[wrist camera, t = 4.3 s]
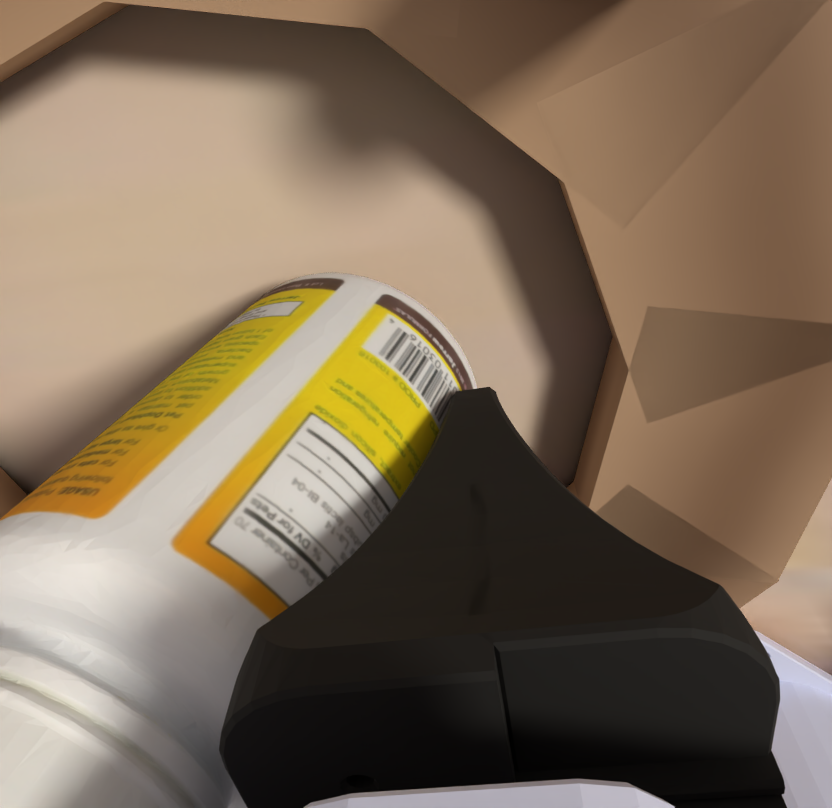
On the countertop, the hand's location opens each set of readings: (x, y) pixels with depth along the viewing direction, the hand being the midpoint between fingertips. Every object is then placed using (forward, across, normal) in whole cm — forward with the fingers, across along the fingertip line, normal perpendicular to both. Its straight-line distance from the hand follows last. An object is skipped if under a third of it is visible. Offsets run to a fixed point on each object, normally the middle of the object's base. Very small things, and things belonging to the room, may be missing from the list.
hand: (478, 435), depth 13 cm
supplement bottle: (+3, +2, 0) cm, 4 cm away
